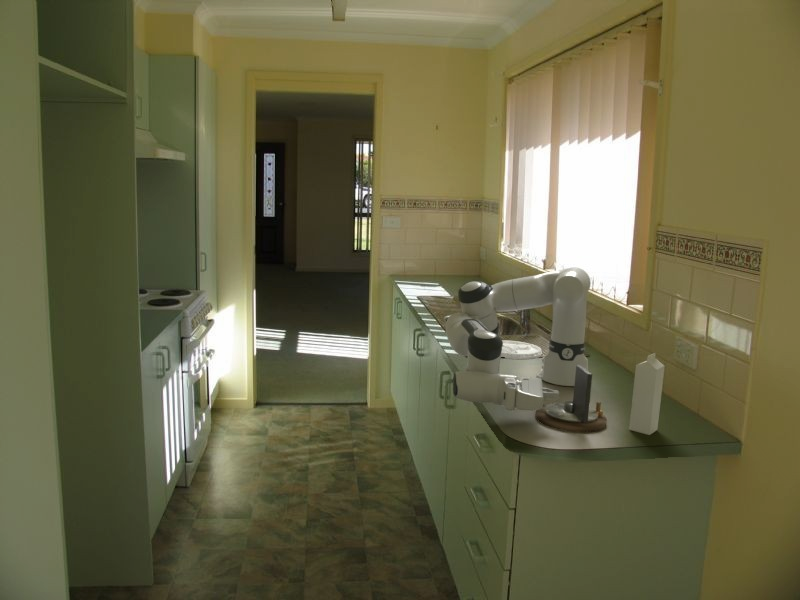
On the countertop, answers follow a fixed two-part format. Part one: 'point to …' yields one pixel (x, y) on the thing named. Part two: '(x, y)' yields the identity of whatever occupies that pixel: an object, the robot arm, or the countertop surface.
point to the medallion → (520, 350)
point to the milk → (647, 396)
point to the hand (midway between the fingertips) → (559, 395)
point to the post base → (572, 427)
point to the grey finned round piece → (576, 402)
